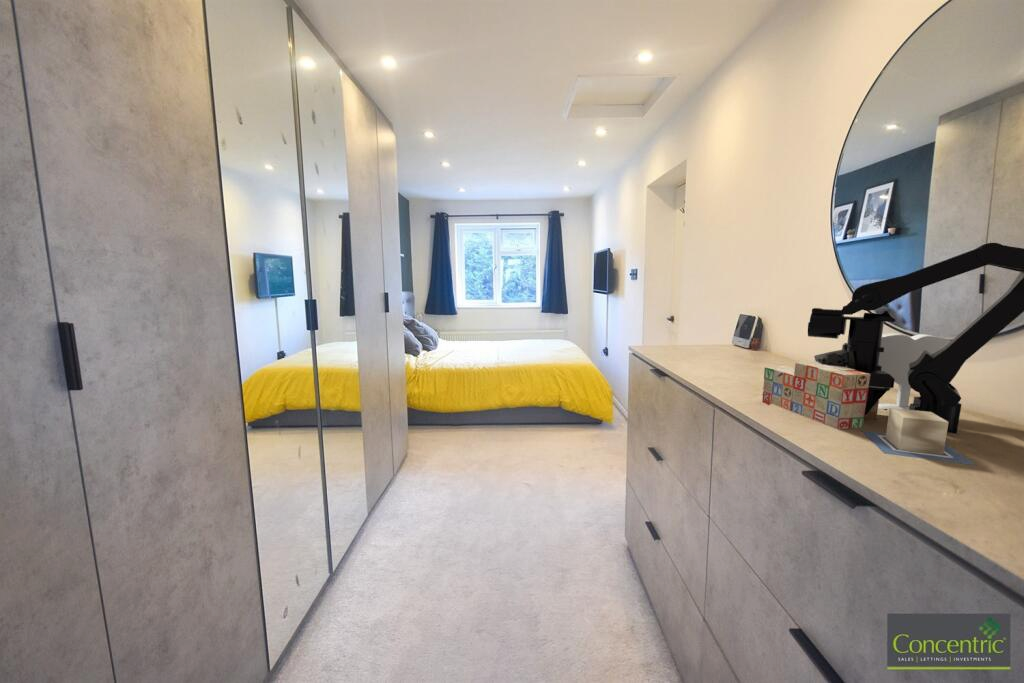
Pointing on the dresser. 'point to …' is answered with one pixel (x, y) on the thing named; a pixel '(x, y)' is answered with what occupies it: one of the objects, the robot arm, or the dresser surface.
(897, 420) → the beech block
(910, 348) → the heart sculpture
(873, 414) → the walnut block
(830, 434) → the dresser surface
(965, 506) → the dresser surface
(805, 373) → the stack of blocks
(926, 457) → the board
